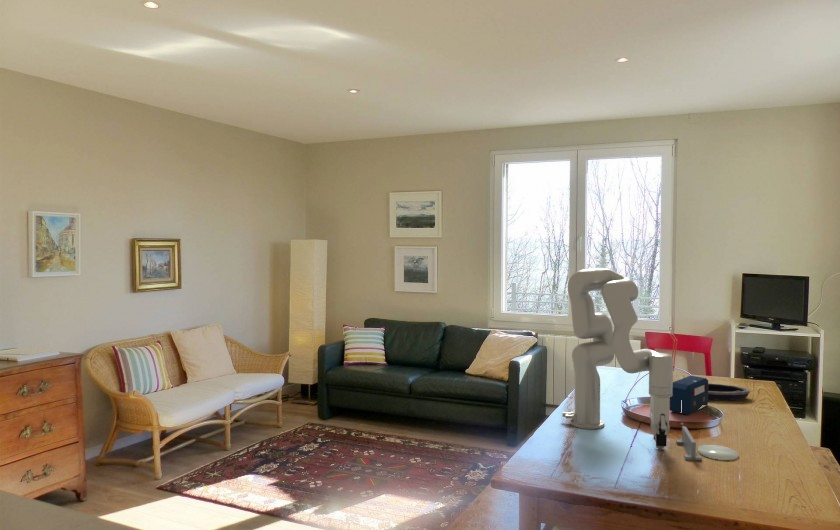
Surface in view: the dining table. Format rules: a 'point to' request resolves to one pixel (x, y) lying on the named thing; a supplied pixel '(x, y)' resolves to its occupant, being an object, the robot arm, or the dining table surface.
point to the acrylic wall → (688, 445)
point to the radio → (689, 394)
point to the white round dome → (717, 452)
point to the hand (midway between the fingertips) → (659, 442)
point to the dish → (726, 392)
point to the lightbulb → (654, 430)
